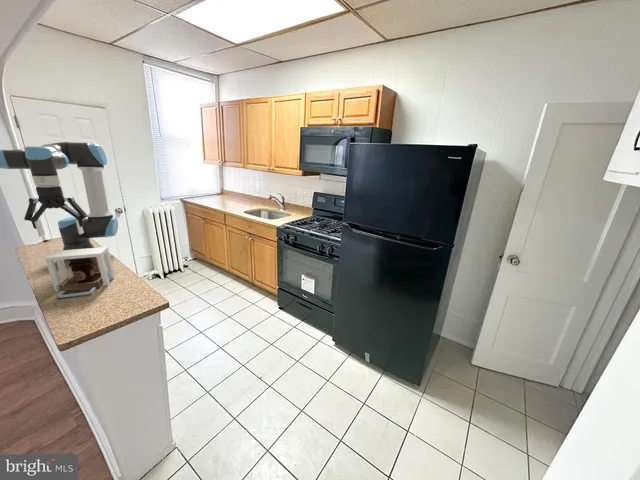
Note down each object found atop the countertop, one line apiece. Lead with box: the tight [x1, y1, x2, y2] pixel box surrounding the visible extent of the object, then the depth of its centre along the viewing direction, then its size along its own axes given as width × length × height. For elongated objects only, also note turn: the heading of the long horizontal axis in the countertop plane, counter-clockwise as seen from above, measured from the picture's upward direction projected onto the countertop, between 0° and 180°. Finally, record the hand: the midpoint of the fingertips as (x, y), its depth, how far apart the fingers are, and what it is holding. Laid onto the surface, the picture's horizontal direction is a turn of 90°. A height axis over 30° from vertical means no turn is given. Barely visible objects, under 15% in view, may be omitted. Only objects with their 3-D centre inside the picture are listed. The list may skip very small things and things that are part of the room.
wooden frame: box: [60, 257, 108, 292], centre depth 126 cm, size 20×14×10 cm, turn 22°
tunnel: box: [44, 246, 115, 292], centre depth 122 cm, size 9×20×16 cm, turn 111°
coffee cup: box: [68, 257, 96, 284], centre depth 122 cm, size 9×8×13 cm
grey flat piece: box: [55, 287, 97, 300], centre depth 115 cm, size 5×12×1 cm, turn 112°
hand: (62, 234), depth 115 cm, fingers open, 13 cm apart
